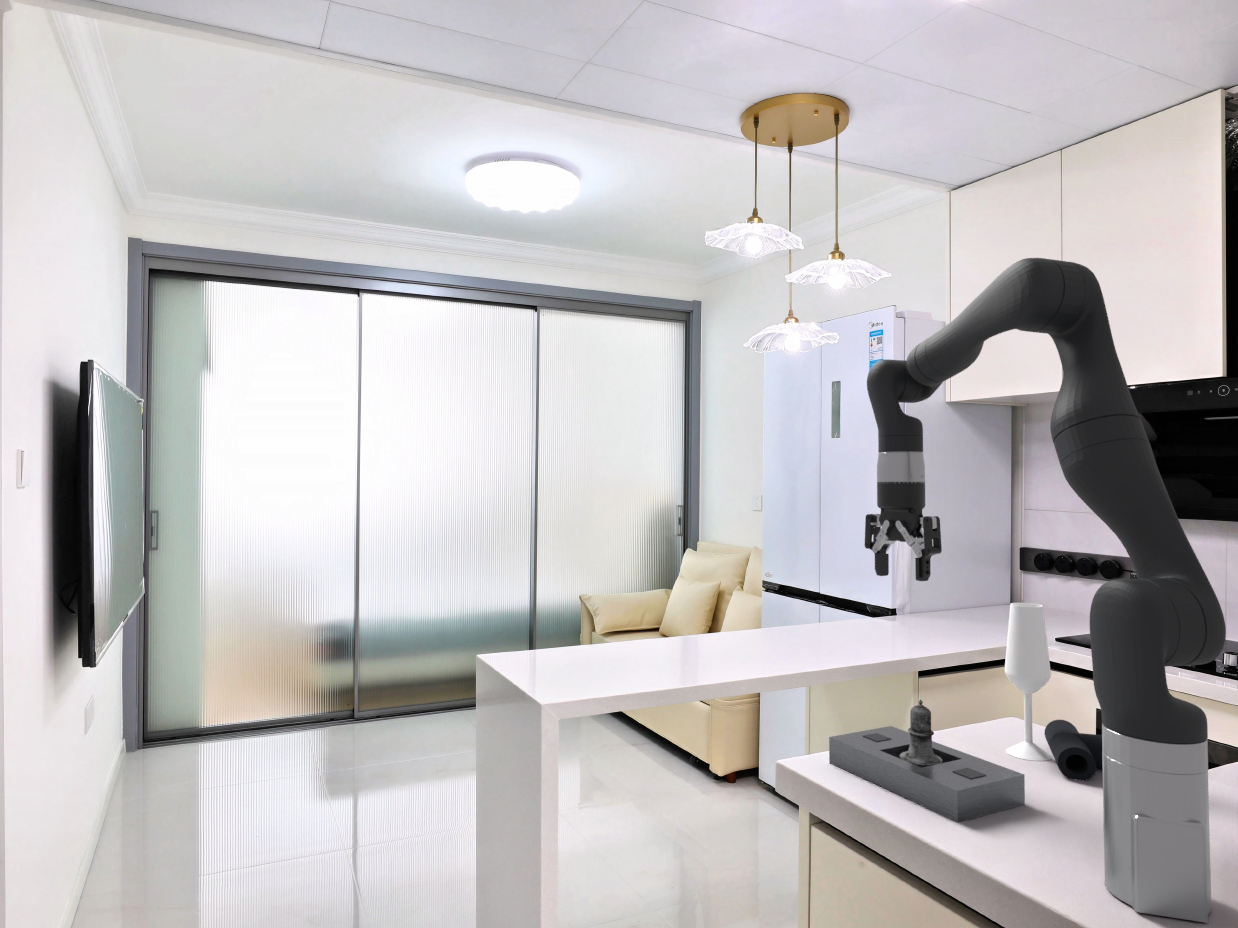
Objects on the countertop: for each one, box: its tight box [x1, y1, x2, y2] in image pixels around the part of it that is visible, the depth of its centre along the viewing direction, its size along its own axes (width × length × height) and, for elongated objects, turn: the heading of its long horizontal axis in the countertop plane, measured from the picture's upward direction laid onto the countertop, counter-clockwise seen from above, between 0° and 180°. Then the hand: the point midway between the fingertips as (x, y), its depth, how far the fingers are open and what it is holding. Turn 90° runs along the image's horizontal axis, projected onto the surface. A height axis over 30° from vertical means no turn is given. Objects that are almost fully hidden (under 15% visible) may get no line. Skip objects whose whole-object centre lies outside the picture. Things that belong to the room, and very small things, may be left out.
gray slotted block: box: [828, 725, 1026, 823], centre depth 113 cm, size 24×13×4 cm, turn 26°
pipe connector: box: [1044, 719, 1103, 782], centre depth 120 cm, size 12×5×15 cm
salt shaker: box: [900, 699, 943, 767], centre depth 113 cm, size 6×6×12 cm
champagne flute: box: [1004, 602, 1053, 762], centre depth 126 cm, size 7×7×24 cm
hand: (901, 578), depth 128 cm, fingers open, 8 cm apart
